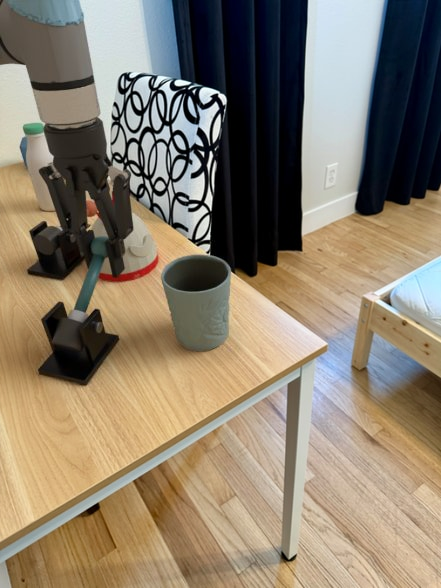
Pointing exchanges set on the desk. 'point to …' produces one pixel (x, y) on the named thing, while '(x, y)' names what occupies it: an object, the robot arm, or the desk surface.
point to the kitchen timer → (131, 251)
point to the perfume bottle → (24, 148)
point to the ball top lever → (81, 301)
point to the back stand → (56, 255)
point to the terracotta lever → (48, 237)
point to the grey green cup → (198, 300)
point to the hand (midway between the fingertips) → (106, 270)
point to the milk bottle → (38, 162)
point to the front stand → (73, 362)
